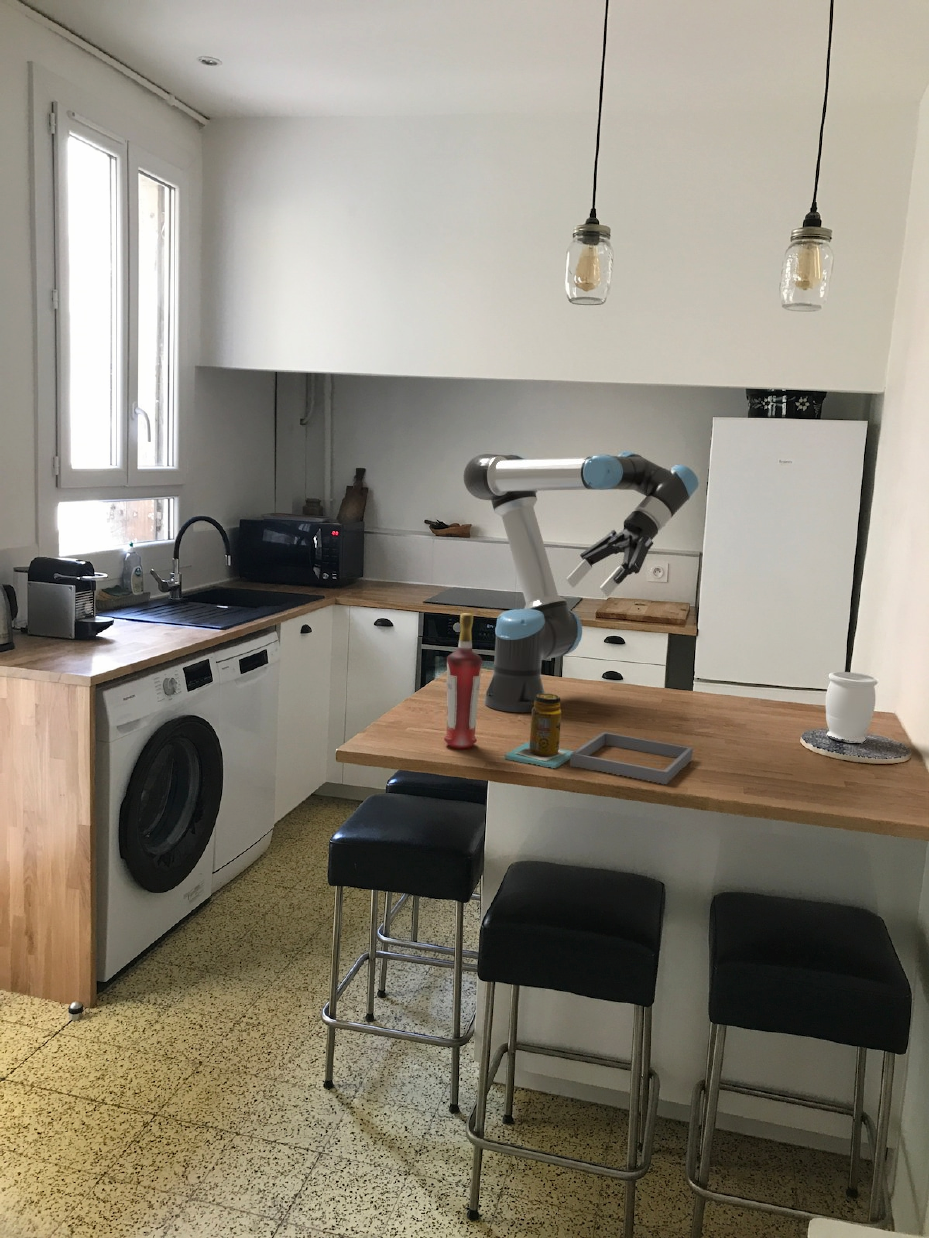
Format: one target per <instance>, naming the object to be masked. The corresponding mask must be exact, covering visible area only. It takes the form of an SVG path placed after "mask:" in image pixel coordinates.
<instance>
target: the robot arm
mask: <svg viewBox="0 0 929 1238" xmlns="http://www.w3.org/2000/svg"><path fill="white" fill-rule="evenodd" d="M463 483H464V486H465V489H466V490H467V491H468V492H469V494H471V495H472V496H473V497H474V498H476V499H479V500H482V501H483V500H484V501H490V502H491V504H492V508H493V511H494V513H495V514H497V515H499V516H500V517H501V519H502V522H503V525H504V526H503V527H504V530H505V533H506V536H507V540H508V541H507V542H508V545H509V548H510V551H511V555H512V559H513V561H514V562H513V563H514V565H515V566H514V567H515V569H516V573H517V576H518V577H517V578H518V581H519V583H520V584H519V585H520V587H521V591H522V594H523V598H524V601H525V606H524V608H519V609H515V608H514V609H509V610H506V611H503V612H502V613H500V614H499V615H498V617H497V619H496V626H495V629H494V630H495V633H494V634H495V637H494V638H495V640H494V658H493V659H494V662H493V672H492V673H493V674H492V676H491V679H490V682H489V684H488V687H487V689H486V692H485V695H484V705H486V706H487V707H489V708H491V709H494V710H498V711H502V712H511V713H532V709H533V707H534V702H535V695H537V694H545V688H544V684H543V682H542V681H543V680H542V677H541V676H542V675H541V674H542V660H548V659H552V658H553V659H554V658H560V657H563V656H566V655H567V654H570V653H572V652H573V651H575V650H576V648H578V646H579V644H580V642H581V640H582V636H583V625H582V622H581V620H580V617H579V616H578V615H577V613H574V612H573V611H572V610H570V609H569V606H568V604H567V600H566V598H564V597H562V596H560V595H559V594H558V589H557V586H556V583H555V580H554V576H553V572H552V569H551V564H550V561H549V558H548V554H547V551H546V547H545V544H544V540H543V537H542V534H541V529H540V526H539V522H538V519H537V516H536V512H535V508H534V507H535V505H536V503H537V501H538V498H537V497H538V496H537V493H538V491H541V492H542V491H543V492H545V491H577V490H578V491H580V490H586V491H587V490H588V491H589V490H591V491H596V490H598V491H599V490H600V491H602V490H603V491H605V490H607V491H608V490H623V491H626V490H627V491H630V490H631V491H635V492H637V493H639V494H641V495H643V496H645V498H644V499H643V500H642V501H641V502H639V504H638V505H637V506H636V507H635V508H634V510H633V511H632V512H631V513H629V515H628V516H627V517H626V519H624V521H623V529H622V530H621V531H619V533H618V532H617V531H616V529H612V530H611V531H610V532H608V534H606V535H605V536H604V537H603V538H601V539H600V540H599V541H597V542H595V543H594V544H592V545H591V546H590V547H588V548H587V549H586V550H584V551H583V552H582V553H580V554H579V556H580V558H581V559H582V560H581V562H579V564H578V565H577V566H576V567H575V568H574V569H573V570H572V571H571V573H569V575H568V576H567V577H566V578H565V580H566V582H567V583H568V584H569V586H571V588H573V589H574V588H575V587H576V586H577V585H578V584H579V583H580V581H582V579H584V577H585V576H587V574H588V573H589V571H591V570H592V569H593V565H595V564H596V563H598V562H600V561H603V560H604V559H606V558H608V557H610V556H611V555H617V554H619V553H623V559H622V562H621V563H620V566H617V567H616V569H615V570H613V572H611V574H610V575H609V576H608V577H607V579H606V580H604V581H603V583H602V584H601V585H600V586H599V588H600V590H601V592H603V594H604V595H605V596H606V597H610V595H611V594H612V593H613V592H614V591H615V590H616V589H617V587H618V586H619V585H620V584H622V582H623V581H624V580H625V579H626V578H627V577H628V575H629V576H630V575H632V574H633V573H634V574H636V575H637V574H639V573H640V571H641V569H642V566H643V564H644V562H645V560H646V557H647V555H648V552H649V550H650V549H651V547H653V545H654V541H653V539H654V538H655V537H656V536H657V535H658V534H659V532H660V531H661V530H662V529H663V528H664V527H665V526H666V524H667V523H669V521H670V520H671V519H672V518H673V517H674V515H675V514H676V513H677V512H678V511H679V510H680V509H681V508H682V507H683V506H684V504H686V502H687V501H689V500H690V499H691V497H692V495H694V493H695V492H696V490H698V488H699V485H700V484H699V483H700V482H699V478H698V476H697V474H696V473H695V472H694V471H693V470H692V469H691V468H690V467H688V466H686V465H685V464H675V465H674V466H672V467H671V468H670V469H667V468H666V467H662V466H660V465H658V464H656V463H655V462H653V461H650V460H648V459H647V458H645V457H643V456H642V455H641V454H638V453H637V454H636V453H635V452H632V451H627V450H625V451H623V452H622V453H619V455H610V454H597V455H593V456H573V457H570V456H568V457H547V458H546V457H545V458H526V457H524V456H520V455H516V454H508V455H507V454H506V455H505V454H492V453H483V454H479V455H477V456H475V457H473V458H471V460H469V461H468V462H467V463H466V466H465V468H464V470H463Z"/></svg>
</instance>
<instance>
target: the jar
mask: <svg viewBox="0 0 929 1238" xmlns="http://www.w3.org/2000/svg"><path fill="white" fill-rule="evenodd" d="M828 679H829V680H830V681H829V684H828V685H827V686H828V687H827V690H826V694H825V702H824V703H825V720H826V721H825V722H826V724H827V729H829V730H828V731H827V733H826V736H827V735H828V736H832V737H835V738H838V739H845V740H849V741H855V742H857V741H858V742H862V741H865V740H866V741H867V739H866V737H865V734H866V733H867V732H868V729H869V727H870V725H871V722H872V718H873V715H874V711H875V706H876V689H875V686H876V685H878V683H879V679H878V678H877V677H874V676H871V675H869V674H863V673H857V672H850V671H832V672H829V674H828ZM866 741H865V742H866Z"/></svg>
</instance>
